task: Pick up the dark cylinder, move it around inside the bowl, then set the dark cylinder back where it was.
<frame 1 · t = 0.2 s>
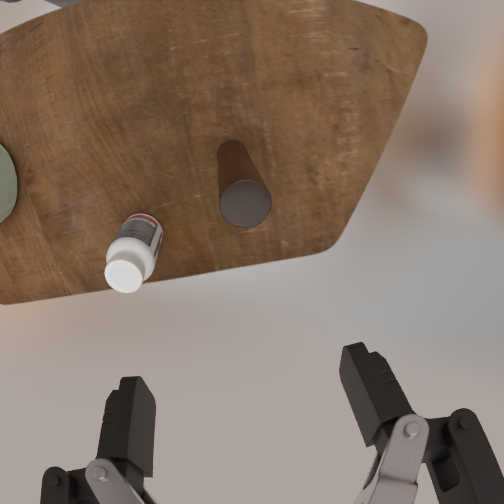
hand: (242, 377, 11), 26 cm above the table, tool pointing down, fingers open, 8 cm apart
dark cylinder: (231, 154, 32), on the table
pill bottle: (143, 231, 35), on the table
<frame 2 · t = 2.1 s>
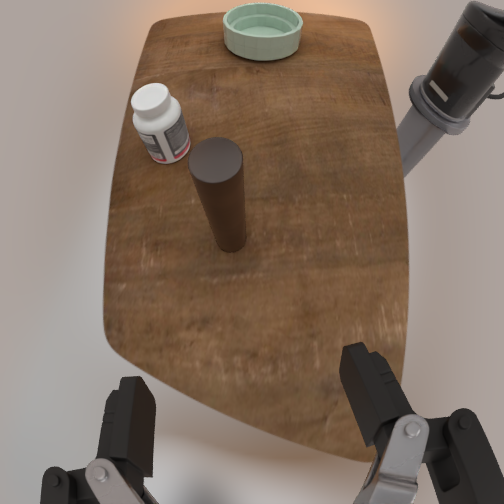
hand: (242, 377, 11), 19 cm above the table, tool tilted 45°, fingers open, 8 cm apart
dark cylinder: (231, 238, 32), on the table
pill bottle: (170, 147, 35), on the table
bowl: (262, 43, 40), on the table
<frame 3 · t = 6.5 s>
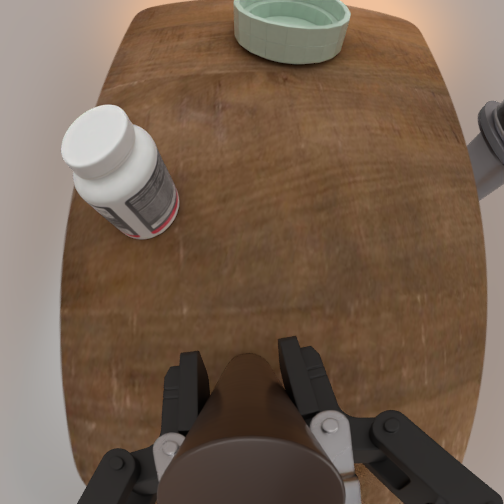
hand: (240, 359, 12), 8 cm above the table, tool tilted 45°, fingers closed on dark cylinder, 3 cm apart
dark cylinder: (248, 376, 19), on the table, touching gripper
pill bottle: (147, 208, 22), on the table
bowl: (288, 38, 27), on the table
when the fingers open (8 cm above the table, at t = 29.2 s): dark cylinder stays where it is, on the table.
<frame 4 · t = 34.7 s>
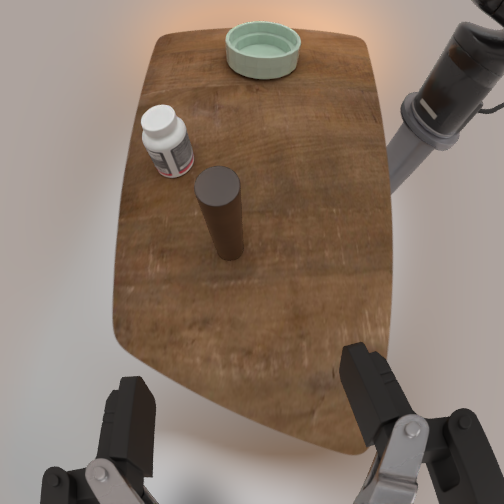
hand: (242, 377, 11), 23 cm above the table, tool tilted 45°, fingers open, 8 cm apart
dark cylinder: (230, 247, 36), on the table
pill bottle: (175, 162, 39), on the table
bowl: (262, 61, 44), on the table
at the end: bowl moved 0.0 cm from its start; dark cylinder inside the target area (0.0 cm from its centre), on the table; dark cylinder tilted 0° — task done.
